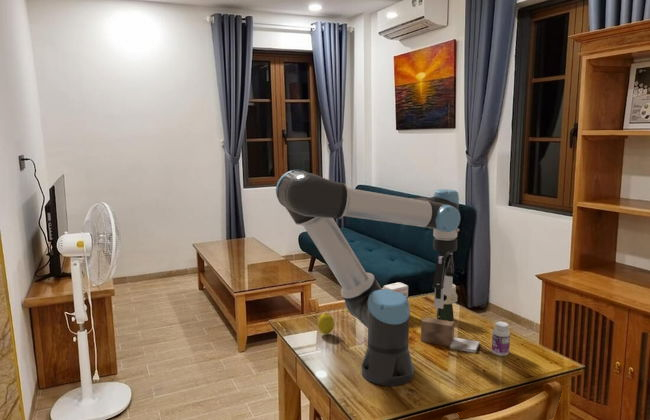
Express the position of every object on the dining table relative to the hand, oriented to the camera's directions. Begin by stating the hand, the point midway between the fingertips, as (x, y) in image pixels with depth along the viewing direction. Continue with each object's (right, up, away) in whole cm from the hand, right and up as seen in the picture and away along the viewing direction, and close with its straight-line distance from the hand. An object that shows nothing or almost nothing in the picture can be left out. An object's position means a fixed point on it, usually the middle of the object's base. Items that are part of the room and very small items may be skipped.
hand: (443, 301), depth 163 cm
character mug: (+6, -11, +22) cm, 26 cm away
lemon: (-39, -13, +8) cm, 42 cm away
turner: (+3, -14, +1) cm, 15 cm away
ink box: (-12, -10, +27) cm, 31 cm away
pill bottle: (+17, -16, -6) cm, 23 cm away
